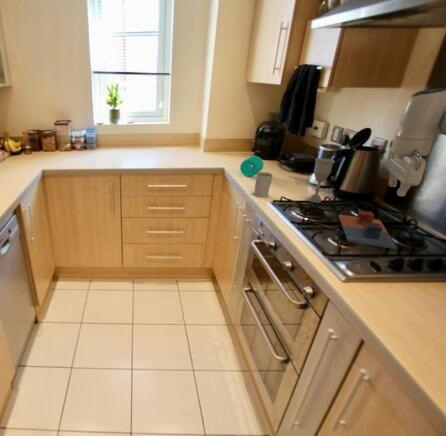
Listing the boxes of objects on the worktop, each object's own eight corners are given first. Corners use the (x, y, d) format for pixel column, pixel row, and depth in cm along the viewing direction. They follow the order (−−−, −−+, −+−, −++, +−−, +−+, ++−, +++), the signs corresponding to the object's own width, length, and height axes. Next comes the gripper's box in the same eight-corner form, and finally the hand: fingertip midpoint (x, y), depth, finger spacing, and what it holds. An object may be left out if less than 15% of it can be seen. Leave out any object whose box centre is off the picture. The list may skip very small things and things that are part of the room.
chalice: (302, 199, 141) (311, 159, 133) (311, 196, 144) (321, 157, 136) (317, 204, 135) (328, 163, 127) (327, 201, 138) (338, 161, 130)
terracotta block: (368, 221, 117) (372, 211, 115) (371, 226, 113) (374, 215, 112) (355, 219, 118) (358, 210, 116) (357, 224, 115) (360, 214, 113)
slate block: (375, 234, 108) (379, 223, 106) (378, 239, 104) (382, 228, 103) (361, 232, 109) (365, 221, 108) (363, 237, 106) (367, 226, 104)
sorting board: (379, 222, 118) (380, 219, 118) (396, 249, 100) (397, 246, 100) (338, 216, 123) (339, 214, 123) (347, 241, 105) (348, 238, 105)
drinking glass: (269, 193, 148) (273, 173, 144) (267, 198, 143) (272, 177, 138) (253, 191, 151) (257, 171, 147) (252, 196, 145) (255, 175, 141)
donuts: (238, 175, 175) (240, 157, 171) (244, 171, 182) (247, 154, 178) (256, 178, 169) (259, 160, 165) (262, 174, 176) (265, 156, 172)
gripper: (438, 155, 85) (420, 203, 90) (413, 141, 101) (399, 182, 107) (408, 154, 87) (392, 200, 93) (388, 140, 104) (376, 180, 110)
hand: (395, 190), depth 100 cm, fingers open, 8 cm apart
